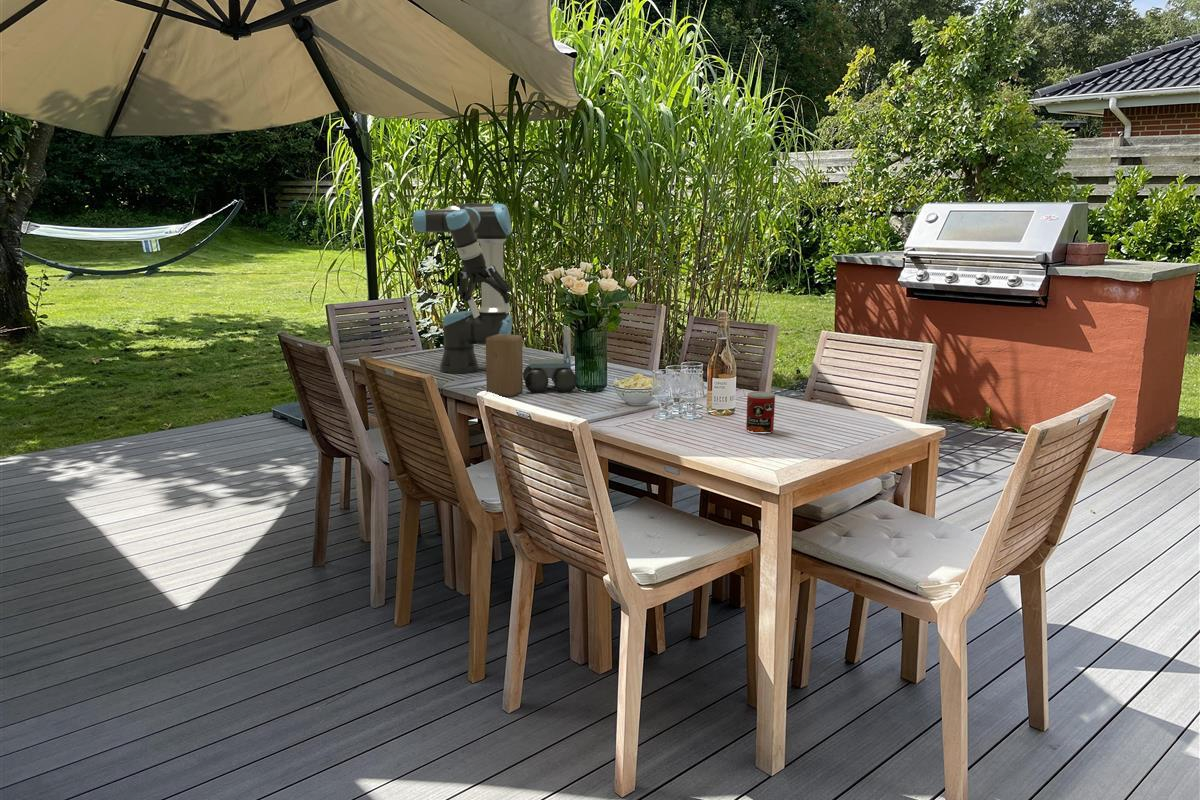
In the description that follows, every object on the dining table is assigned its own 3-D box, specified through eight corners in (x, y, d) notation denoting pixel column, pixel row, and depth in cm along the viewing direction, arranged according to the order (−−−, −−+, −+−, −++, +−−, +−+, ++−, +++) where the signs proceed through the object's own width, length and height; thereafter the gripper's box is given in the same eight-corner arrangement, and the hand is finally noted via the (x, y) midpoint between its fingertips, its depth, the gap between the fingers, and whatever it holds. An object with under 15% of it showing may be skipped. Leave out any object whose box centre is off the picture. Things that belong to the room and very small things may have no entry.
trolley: (522, 386, 331) (522, 317, 326) (572, 385, 333) (572, 316, 328) (525, 393, 317) (524, 321, 312) (577, 392, 319) (577, 321, 314)
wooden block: (485, 395, 313) (484, 337, 309) (497, 390, 322) (496, 333, 318) (512, 397, 310) (512, 338, 306) (523, 392, 319) (523, 334, 315)
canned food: (743, 433, 260) (745, 395, 258) (749, 427, 267) (750, 390, 265) (770, 435, 257) (772, 397, 255) (775, 429, 265) (777, 392, 263)
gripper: (436, 265, 310) (458, 322, 318) (495, 254, 298) (517, 314, 306) (448, 257, 316) (469, 314, 324) (507, 246, 303) (527, 305, 311)
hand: (492, 314), depth 315 cm, fingers open, 13 cm apart
